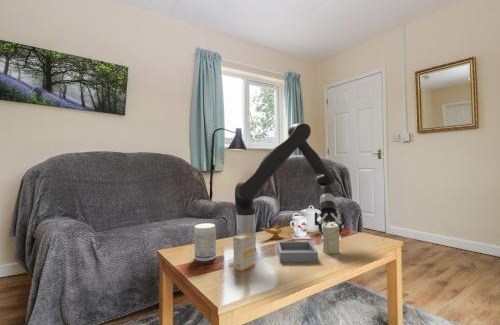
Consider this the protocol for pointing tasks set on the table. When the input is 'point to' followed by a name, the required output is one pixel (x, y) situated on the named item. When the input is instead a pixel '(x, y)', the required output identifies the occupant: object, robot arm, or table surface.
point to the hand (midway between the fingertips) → (330, 232)
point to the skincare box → (331, 239)
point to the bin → (297, 252)
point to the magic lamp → (275, 230)
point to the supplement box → (243, 251)
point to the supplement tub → (205, 242)
